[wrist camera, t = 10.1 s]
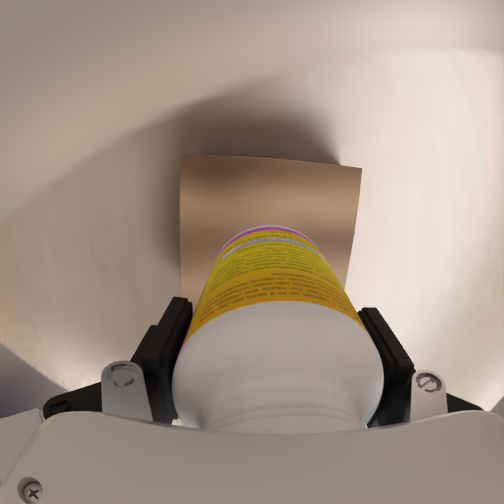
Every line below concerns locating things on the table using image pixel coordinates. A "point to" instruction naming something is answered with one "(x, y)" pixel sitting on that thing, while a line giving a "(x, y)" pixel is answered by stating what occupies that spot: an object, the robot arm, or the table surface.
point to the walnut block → (262, 208)
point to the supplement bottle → (275, 344)
